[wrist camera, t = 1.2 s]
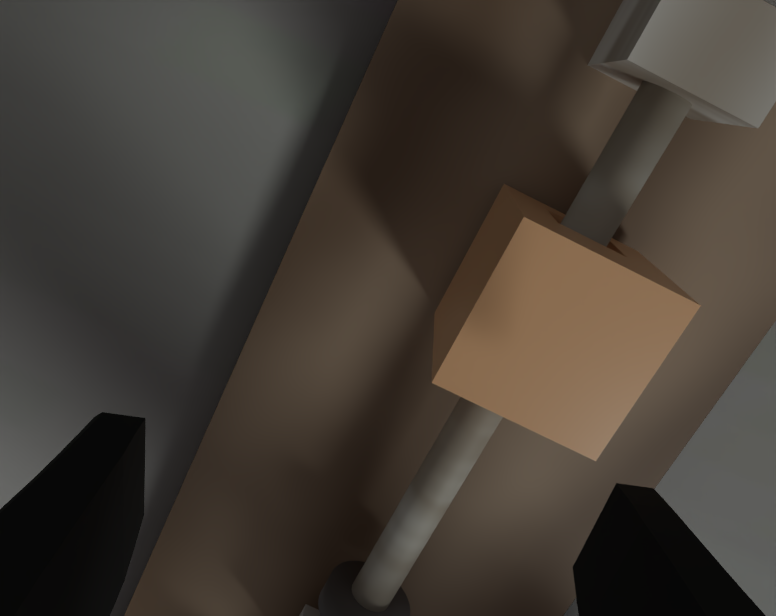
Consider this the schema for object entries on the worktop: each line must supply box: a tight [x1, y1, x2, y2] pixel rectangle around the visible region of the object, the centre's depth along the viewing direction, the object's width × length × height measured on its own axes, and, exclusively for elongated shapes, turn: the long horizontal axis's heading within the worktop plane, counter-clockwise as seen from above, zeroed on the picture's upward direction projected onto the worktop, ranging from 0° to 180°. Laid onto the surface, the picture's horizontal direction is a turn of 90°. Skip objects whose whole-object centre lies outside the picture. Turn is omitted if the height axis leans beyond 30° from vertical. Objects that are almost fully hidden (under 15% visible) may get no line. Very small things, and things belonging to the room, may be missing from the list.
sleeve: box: [432, 184, 701, 461], centre depth 17 cm, size 4×4×5 cm
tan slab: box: [124, 0, 776, 616], centre depth 20 cm, size 13×28×5 cm, turn 155°
